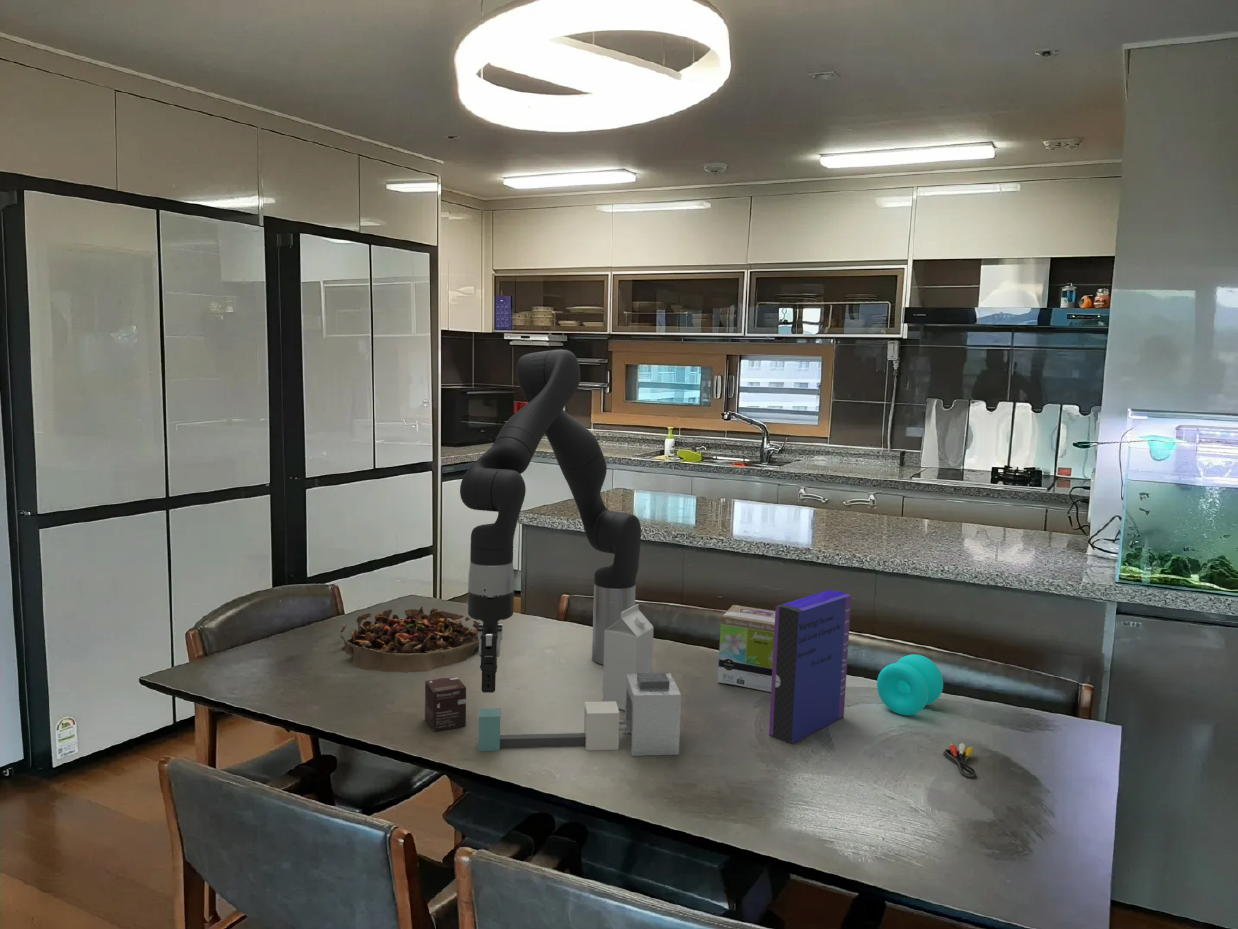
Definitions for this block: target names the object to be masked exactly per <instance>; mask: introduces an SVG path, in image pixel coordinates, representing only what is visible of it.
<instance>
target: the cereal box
mask: <svg viewBox="0 0 1238 929" xmlns="http://www.w3.org/2000/svg"><path fill="white" fill-rule="evenodd" d="M851 605H852V595H851V594H848V593H846V592H843V591H839V590H831V589H828V590H824V591H820V592H818V593H814V594H811V595H808V596H804V597H801V598H797V599H795V600H791V601H788V602H784V603H781V604H777V605H775V610H774V611H775V629H774V648H773V667H772V686H771V692H770V709H769V726H768V736H769V737H771V738H774V739H777V740H779V741H782V742H783V743H785V744H786V743H787V744H788V745H791V746H792V745H793V744H795V743H798V742H799V741H801V740H803V739H806V738H807V737H809V736H811V735H812V734H815V733H817V732H820V731H821V730H823V729H825V728H826V727H828V726H830V725H832V724H834V723H836V722H838V721H840V720H842V719H844V718H845V715H844V714H845V704H846V702H845V701H846V688H847V687H846V685H847V683H846V682H847V671H848V654H849V652H848V651H849V639H850V637H849V636H850V625H851V624H850V621H851Z"/></svg>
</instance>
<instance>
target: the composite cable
mask: <svg viewBox="0 0 1238 929" xmlns="http://www.w3.org/2000/svg"><path fill="white" fill-rule="evenodd" d="M973 753H974V749H973V746H968V747H967V746H966V744H965V742H963V741H962V742H961V743H960V744H958V748H957V746H956V745H955V744H954V743H953V742H950V745H949V749H948V748H946V749H944V751H943V755H944V757H945V758H947V759H948V760H949V761H951V762H952V763H954V765H956V766H957V768H958V770H959V774H960V775H961V776H963V777H964V778H966V779H969V780H970V779H971V780H975V779H976V777H977V775H976V770H975V768H973V767H971V766H970V765H968V764H967V763H966V762H967V760H968V759H969V758H970V757H971V756H972V755H973ZM964 770H965V771H964ZM966 772H967V773H966Z"/></svg>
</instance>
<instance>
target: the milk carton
mask: <svg viewBox="0 0 1238 929" xmlns="http://www.w3.org/2000/svg"><path fill="white" fill-rule="evenodd" d="M653 655H654V626H653V624H652V623H651V622H650V621H649V620H648V619H647V617H646V616H645V615H644V614H643V613H642V612H641V610H640V609H639V604H638V603H637V604H635V606H633V607H631V608H629V609H627V610H625V611H623V612H621V618H620V619H619V620H618V621H616V622H615V623H614V624H612V625H611V626H610V627H608V628H607V629H606V630H605V632H604V665H603V669H602V670H603V672H602V673H603V676H602V702H605V701H616V703H617V706H618V710H621V711H625V699H626V674H637V673H653V658H654V657H653Z"/></svg>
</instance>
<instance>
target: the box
mask: <svg viewBox="0 0 1238 929" xmlns="http://www.w3.org/2000/svg"><path fill="white" fill-rule="evenodd" d="M424 684H425V685H424V686H425V687H424V690H425V691H424V692H425V693H424V694H425V695H424V720H425V721H426V723H427V724H429V726H430V728H431V729H432V731H433V732H438V731H444V730H450V729H456V728H461V727H465V726H466V725H467V686H465V684H464V683H463V682H462V681H461V680H460V679H459V677H457V676H454V677H442V678H437V679H431V680H425V683H424Z"/></svg>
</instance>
